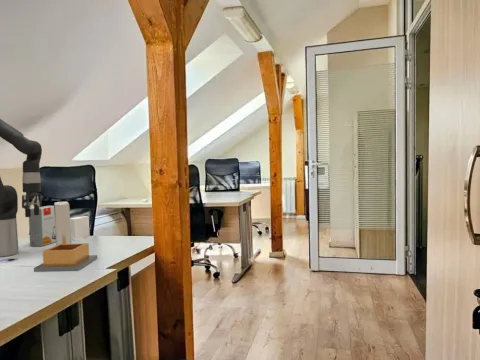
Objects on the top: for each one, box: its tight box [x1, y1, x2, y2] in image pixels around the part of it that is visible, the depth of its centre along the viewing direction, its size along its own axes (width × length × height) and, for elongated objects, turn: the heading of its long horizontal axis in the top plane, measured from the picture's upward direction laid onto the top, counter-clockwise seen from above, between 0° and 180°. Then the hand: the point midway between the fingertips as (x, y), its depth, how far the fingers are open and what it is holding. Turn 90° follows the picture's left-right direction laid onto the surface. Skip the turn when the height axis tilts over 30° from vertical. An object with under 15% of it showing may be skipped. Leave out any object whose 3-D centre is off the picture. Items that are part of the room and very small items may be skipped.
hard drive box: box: [28, 205, 56, 247], centre depth 199 cm, size 16×8×20 cm, turn 171°
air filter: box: [53, 201, 72, 246], centre depth 171 cm, size 6×6×25 cm
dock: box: [33, 242, 98, 273], centre depth 155 cm, size 18×18×8 cm
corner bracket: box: [70, 215, 91, 241], centre depth 212 cm, size 11×11×12 cm
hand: (32, 216), depth 175 cm, fingers open, 8 cm apart
